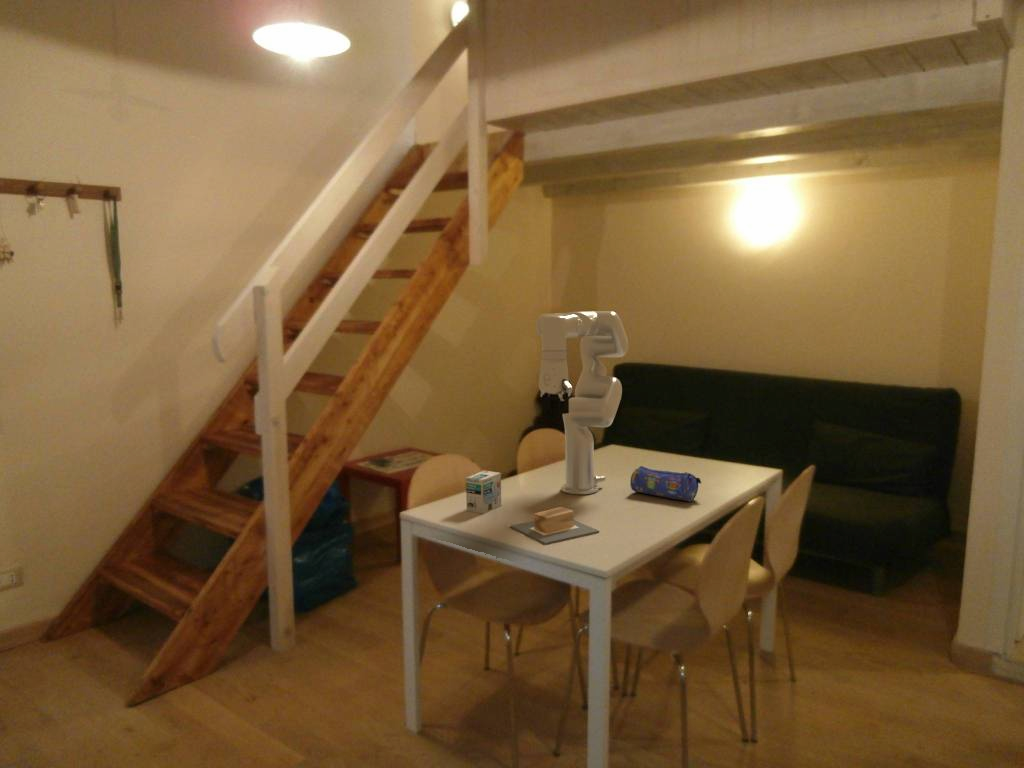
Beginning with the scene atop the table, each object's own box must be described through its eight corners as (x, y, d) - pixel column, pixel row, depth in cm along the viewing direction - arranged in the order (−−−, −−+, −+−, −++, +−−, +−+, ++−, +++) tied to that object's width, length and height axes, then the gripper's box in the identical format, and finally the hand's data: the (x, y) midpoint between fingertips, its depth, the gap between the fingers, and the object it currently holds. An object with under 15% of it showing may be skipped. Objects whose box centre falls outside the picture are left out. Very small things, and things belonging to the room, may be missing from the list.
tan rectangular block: (534, 529, 209) (534, 513, 209) (560, 521, 215) (560, 506, 215) (547, 533, 205) (547, 517, 204) (573, 526, 211) (573, 510, 210)
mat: (562, 516, 222) (562, 514, 222) (599, 532, 207) (599, 530, 207) (510, 527, 213) (510, 525, 213) (545, 544, 198) (545, 542, 198)
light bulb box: (483, 514, 226) (483, 479, 225) (465, 511, 230) (464, 477, 228) (502, 505, 235) (501, 472, 234) (484, 502, 239) (483, 469, 238)
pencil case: (701, 499, 238) (702, 470, 237) (689, 506, 231) (690, 475, 230) (640, 489, 252) (641, 461, 251) (628, 494, 245) (628, 466, 244)
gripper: (528, 355, 232) (529, 409, 234) (560, 358, 217) (561, 416, 219) (548, 353, 236) (549, 406, 238) (581, 357, 221) (581, 413, 223)
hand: (554, 411), depth 228 cm, fingers open, 9 cm apart
